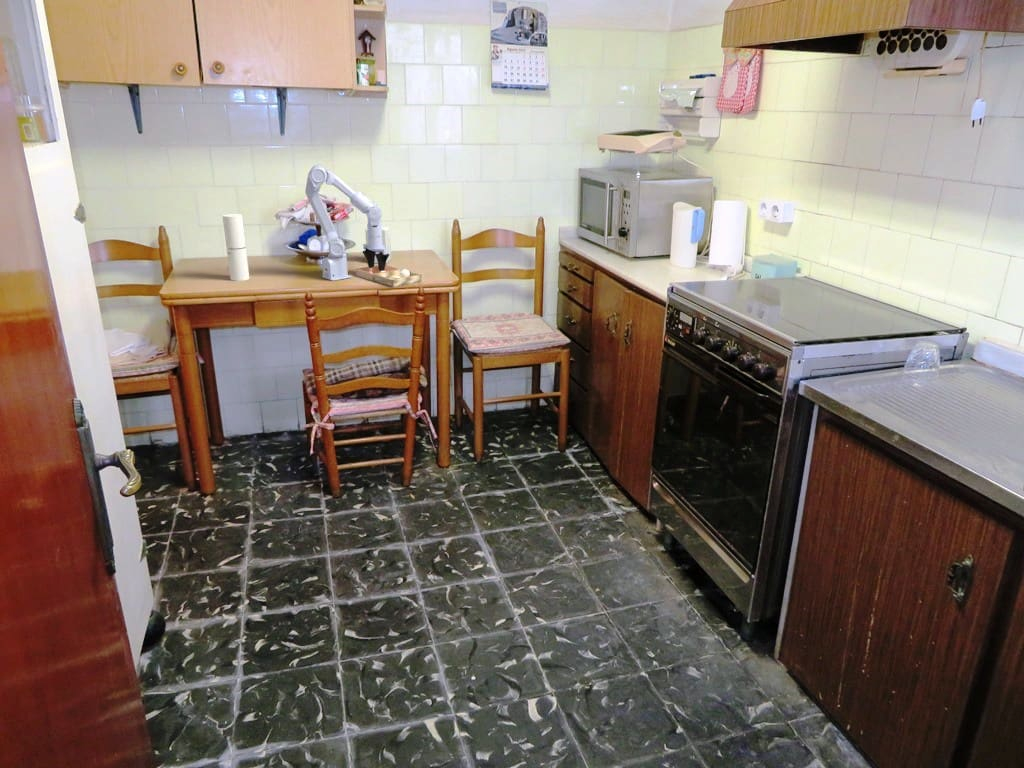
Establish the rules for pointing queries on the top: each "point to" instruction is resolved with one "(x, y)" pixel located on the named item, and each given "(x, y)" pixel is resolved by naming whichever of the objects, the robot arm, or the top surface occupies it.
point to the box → (396, 278)
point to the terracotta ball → (375, 270)
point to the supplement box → (383, 242)
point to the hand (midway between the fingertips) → (376, 269)
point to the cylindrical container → (236, 247)
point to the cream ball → (404, 273)
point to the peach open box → (368, 274)
